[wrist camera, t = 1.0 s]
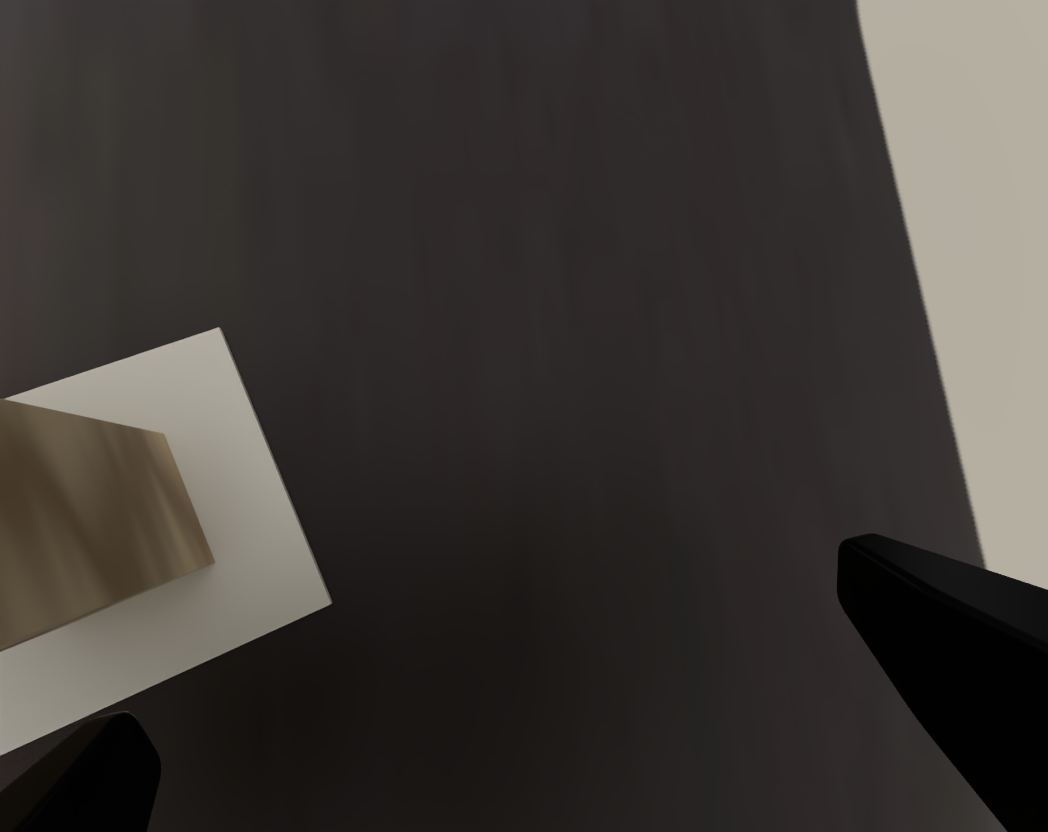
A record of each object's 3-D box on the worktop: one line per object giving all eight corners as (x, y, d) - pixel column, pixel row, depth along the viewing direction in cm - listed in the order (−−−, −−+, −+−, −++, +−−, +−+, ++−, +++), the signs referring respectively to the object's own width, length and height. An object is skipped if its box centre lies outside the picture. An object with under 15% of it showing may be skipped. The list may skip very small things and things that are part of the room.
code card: (332, 602, 19) (331, 604, 19) (4, 752, 17) (-4, 757, 17) (221, 329, 20) (219, 327, 19) (-114, 441, 17) (-124, 440, 17)
